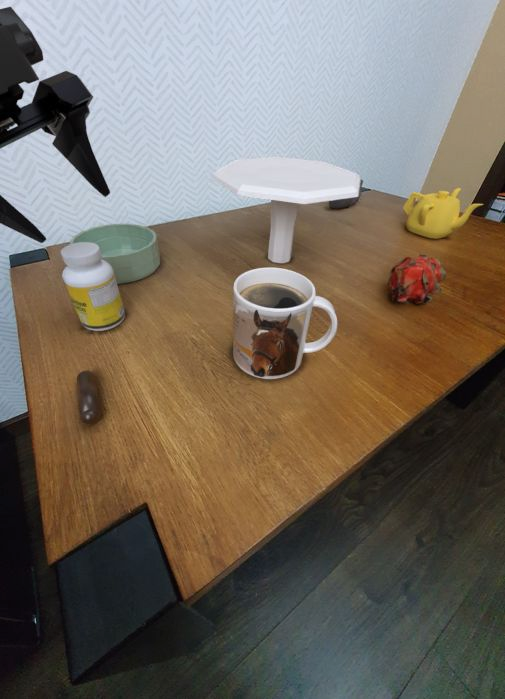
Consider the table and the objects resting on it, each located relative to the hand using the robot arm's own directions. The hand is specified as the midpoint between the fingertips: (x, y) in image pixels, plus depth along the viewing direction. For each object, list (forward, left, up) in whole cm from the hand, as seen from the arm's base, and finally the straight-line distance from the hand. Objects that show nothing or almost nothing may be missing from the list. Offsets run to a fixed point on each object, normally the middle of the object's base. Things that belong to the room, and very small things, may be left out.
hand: (78, 216), depth 33 cm
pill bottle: (-1, +6, -18) cm, 19 cm away
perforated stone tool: (+71, +39, -18) cm, 83 cm away
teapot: (+81, +14, -18) cm, 84 cm away
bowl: (+4, +24, -18) cm, 30 cm away
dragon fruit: (+49, -8, -18) cm, 53 cm away
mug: (+19, -12, -18) cm, 29 cm away
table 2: (+35, +15, -18) cm, 42 cm away
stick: (-5, -10, -18) cm, 21 cm away
